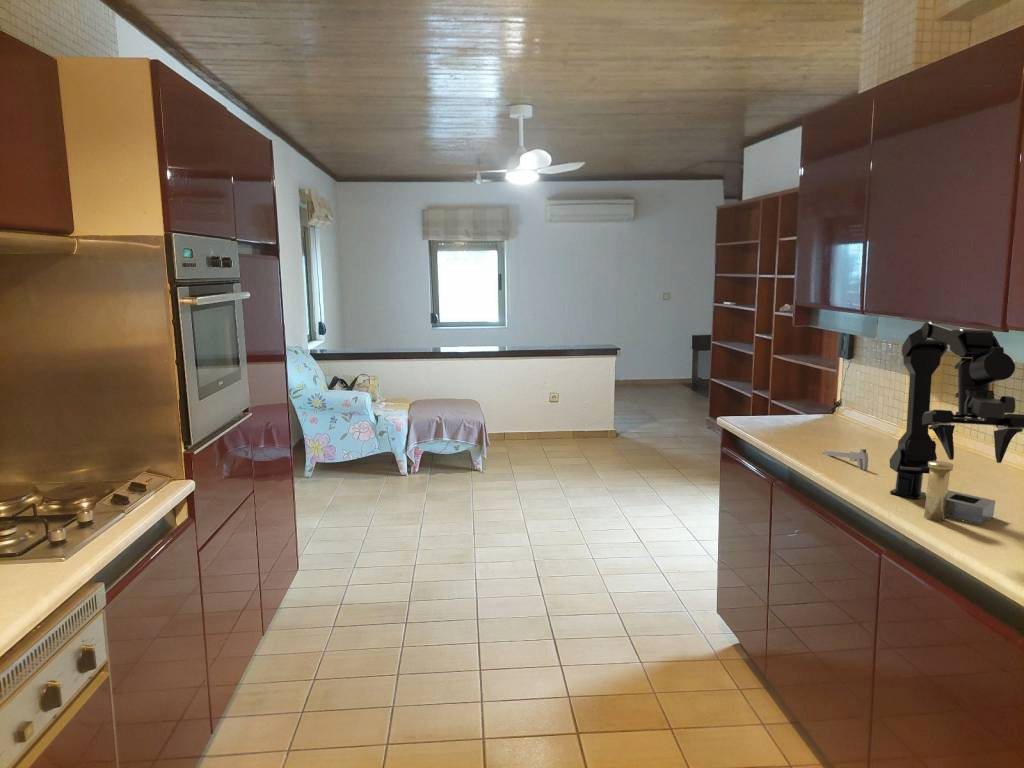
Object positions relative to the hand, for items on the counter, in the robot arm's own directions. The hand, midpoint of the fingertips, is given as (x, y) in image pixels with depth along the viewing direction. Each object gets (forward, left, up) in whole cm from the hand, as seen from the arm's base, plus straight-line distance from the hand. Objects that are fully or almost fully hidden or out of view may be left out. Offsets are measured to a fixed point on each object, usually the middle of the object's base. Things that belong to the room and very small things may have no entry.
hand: (975, 461), depth 150 cm
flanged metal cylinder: (-9, -9, -17) cm, 21 cm away
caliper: (-44, -45, -17) cm, 65 cm away
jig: (-17, -5, -17) cm, 24 cm away
